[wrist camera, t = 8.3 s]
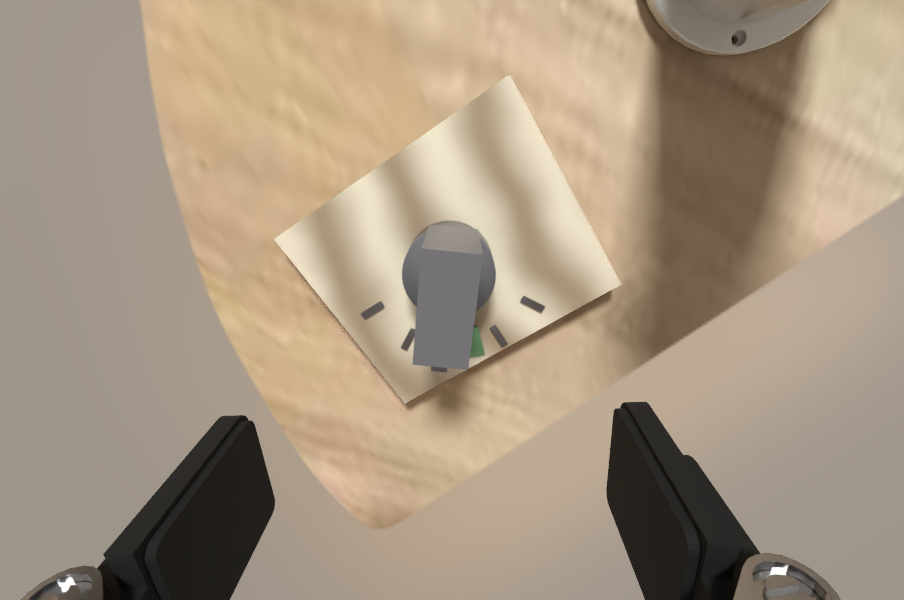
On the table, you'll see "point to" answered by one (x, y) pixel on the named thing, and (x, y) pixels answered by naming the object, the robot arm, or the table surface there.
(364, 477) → the table surface
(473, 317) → the knob
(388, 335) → the dial board
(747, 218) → the table surface
